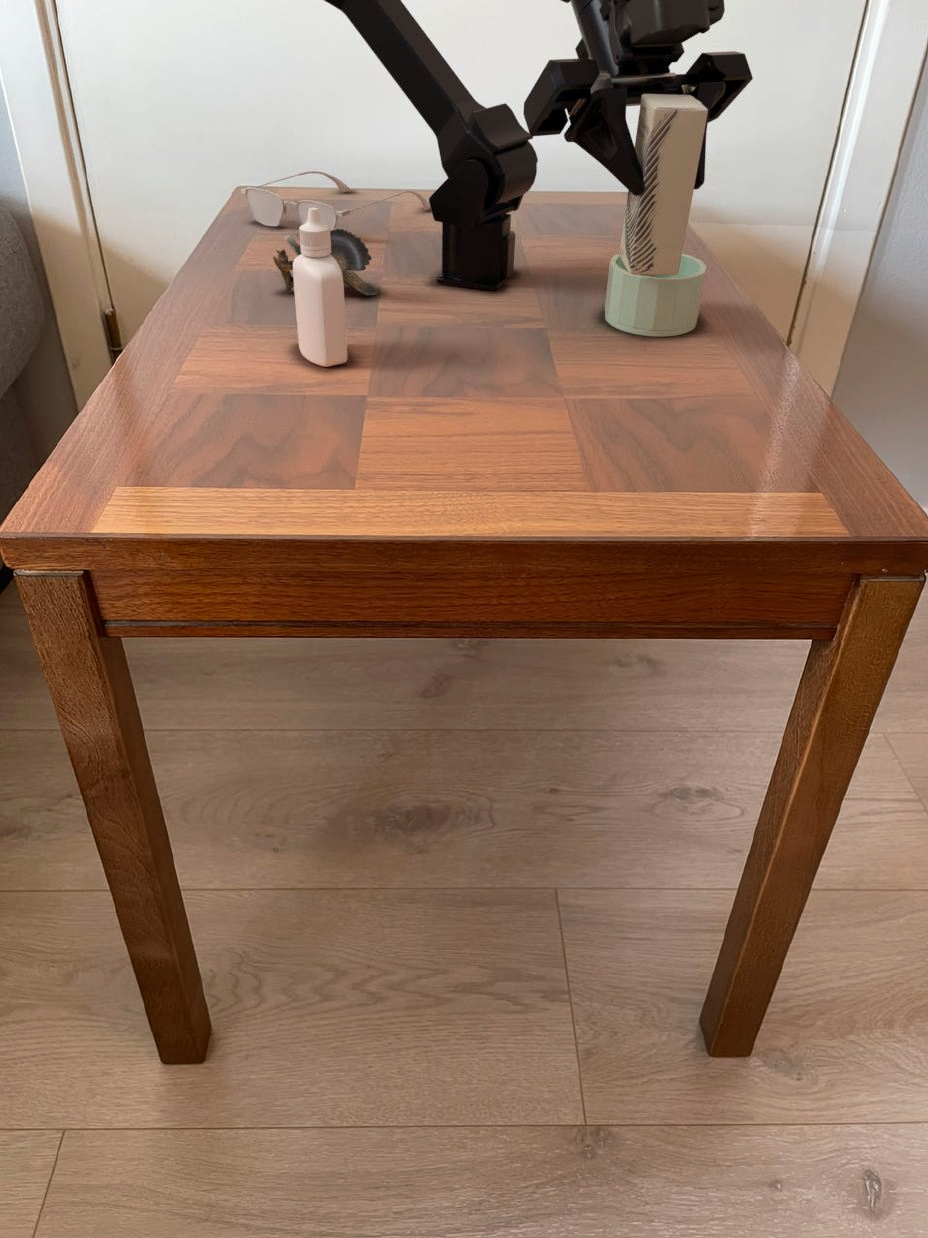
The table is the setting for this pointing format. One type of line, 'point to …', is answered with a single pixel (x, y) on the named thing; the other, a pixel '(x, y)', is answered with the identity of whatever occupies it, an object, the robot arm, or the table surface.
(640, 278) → the bowl
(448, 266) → the robot arm
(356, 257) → the brown grey figurine
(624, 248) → the box
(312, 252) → the eye dropper bottle
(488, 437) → the table surface
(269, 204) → the eyeglasses
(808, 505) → the table surface
